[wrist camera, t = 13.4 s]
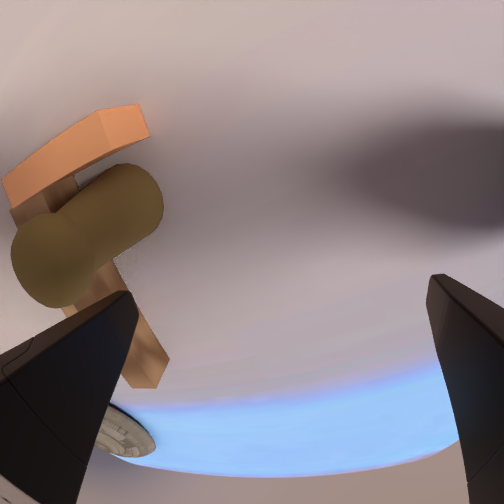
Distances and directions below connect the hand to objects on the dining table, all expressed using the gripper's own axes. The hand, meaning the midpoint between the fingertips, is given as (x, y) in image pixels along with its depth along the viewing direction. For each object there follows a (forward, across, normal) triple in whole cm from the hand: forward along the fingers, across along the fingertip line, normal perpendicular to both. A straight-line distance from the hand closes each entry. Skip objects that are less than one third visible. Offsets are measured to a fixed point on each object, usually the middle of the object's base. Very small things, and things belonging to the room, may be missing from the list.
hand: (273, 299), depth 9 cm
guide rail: (+13, +16, +6) cm, 21 cm away
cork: (+13, +12, 0) cm, 18 cm away
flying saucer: (+14, +30, +33) cm, 46 cm away
